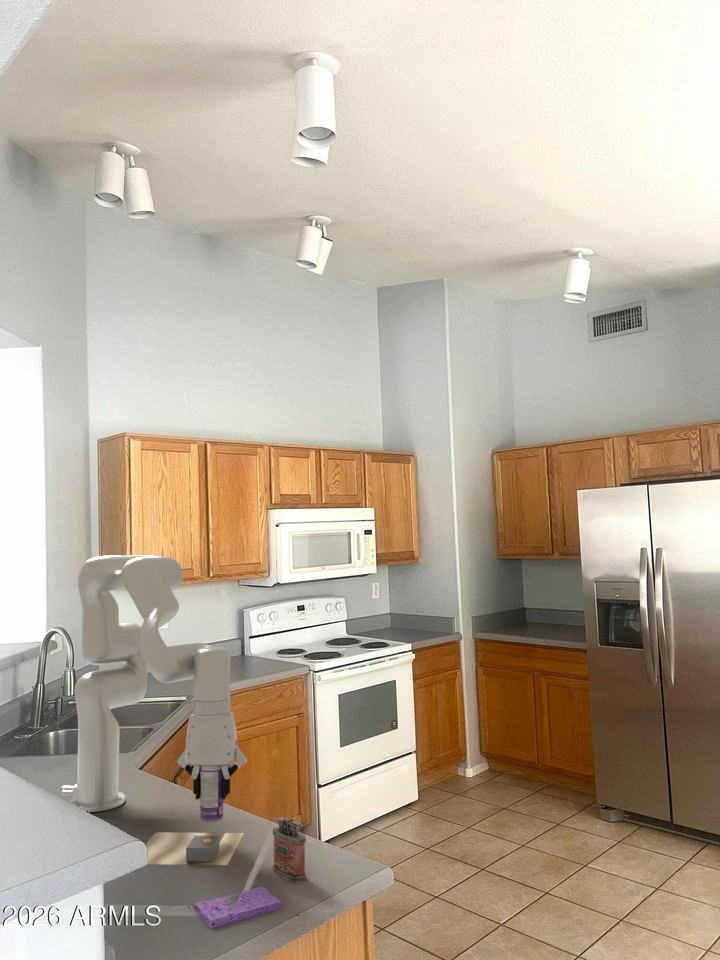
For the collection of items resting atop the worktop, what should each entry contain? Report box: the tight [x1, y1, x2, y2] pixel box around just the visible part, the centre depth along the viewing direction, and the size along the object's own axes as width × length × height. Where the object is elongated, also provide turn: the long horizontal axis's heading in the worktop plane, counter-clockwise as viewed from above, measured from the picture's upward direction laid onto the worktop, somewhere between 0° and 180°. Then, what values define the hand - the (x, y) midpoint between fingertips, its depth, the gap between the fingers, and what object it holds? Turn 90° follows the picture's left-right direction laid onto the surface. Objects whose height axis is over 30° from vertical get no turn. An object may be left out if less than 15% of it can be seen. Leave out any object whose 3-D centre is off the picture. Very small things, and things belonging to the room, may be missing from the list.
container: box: [199, 766, 224, 823], centre depth 156 cm, size 5×5×15 cm
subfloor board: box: [145, 831, 245, 866], centre depth 151 cm, size 19×16×1 cm
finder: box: [186, 836, 219, 862], centre depth 147 cm, size 5×6×3 cm
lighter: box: [272, 817, 307, 883], centre depth 141 cm, size 8×3×10 cm, turn 44°
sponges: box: [195, 886, 281, 929], centre depth 127 cm, size 7×13×2 cm, turn 122°
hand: (211, 796), depth 156 cm, fingers closed on container, 4 cm apart
